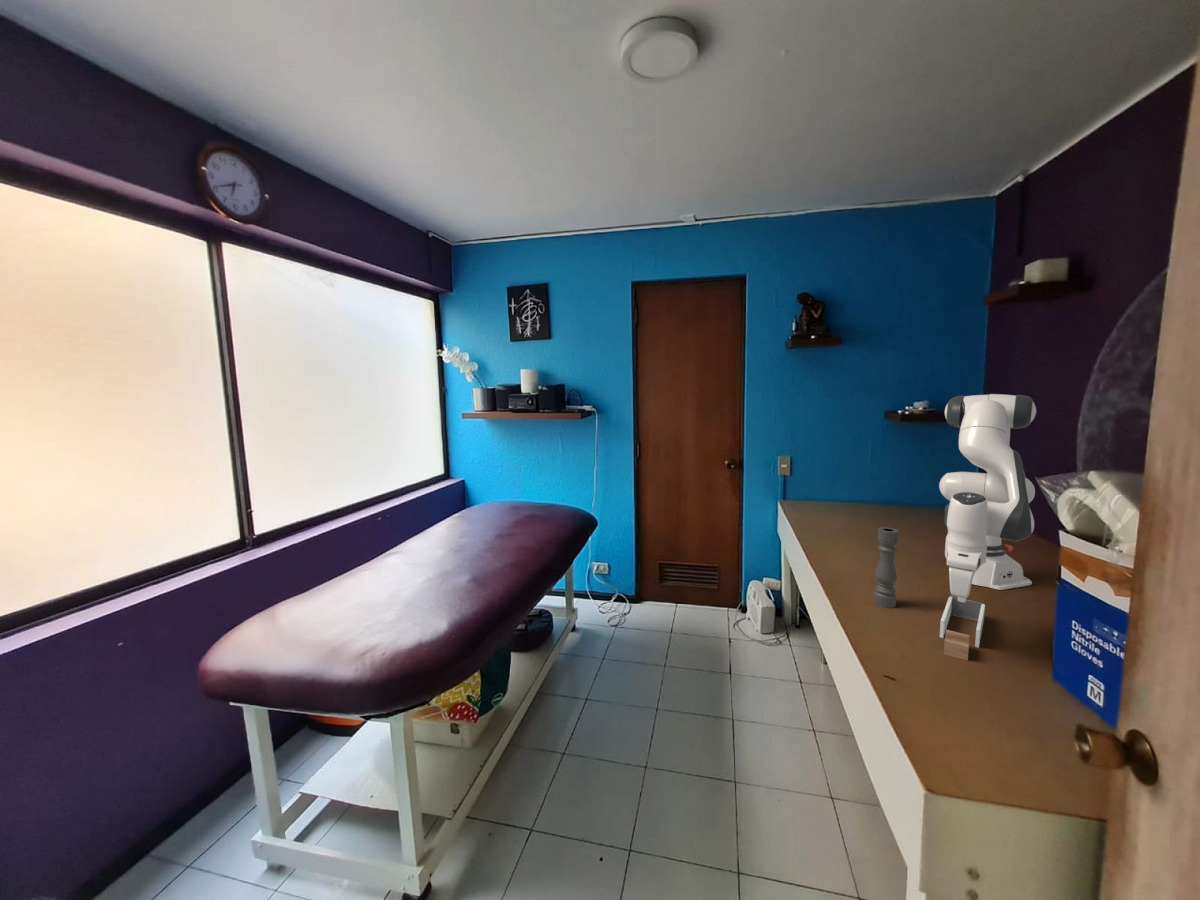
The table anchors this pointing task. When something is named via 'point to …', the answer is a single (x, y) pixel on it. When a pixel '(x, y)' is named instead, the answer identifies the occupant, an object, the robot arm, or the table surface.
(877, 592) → the candle holder
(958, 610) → the white channel
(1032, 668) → the table surface
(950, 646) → the light brown block
